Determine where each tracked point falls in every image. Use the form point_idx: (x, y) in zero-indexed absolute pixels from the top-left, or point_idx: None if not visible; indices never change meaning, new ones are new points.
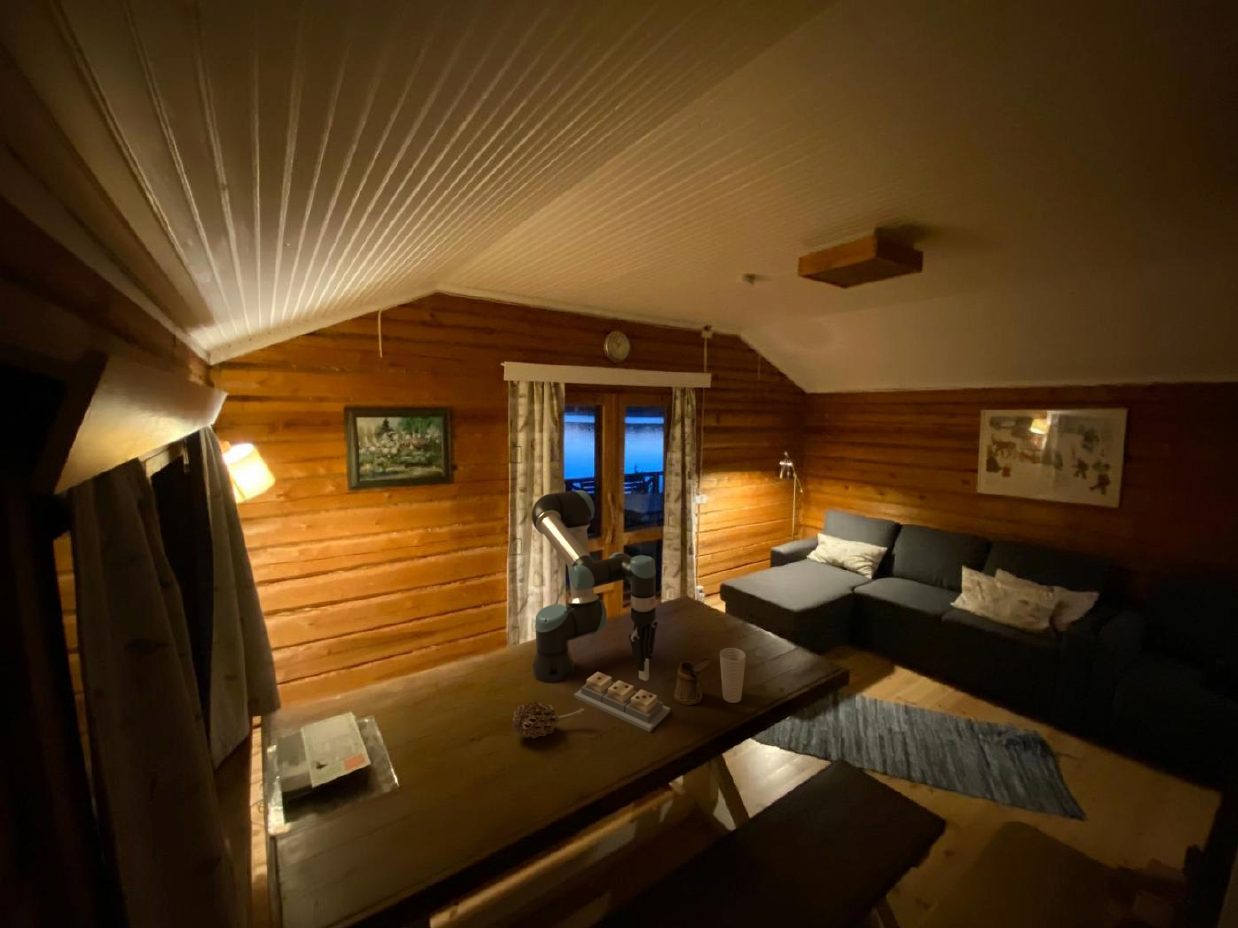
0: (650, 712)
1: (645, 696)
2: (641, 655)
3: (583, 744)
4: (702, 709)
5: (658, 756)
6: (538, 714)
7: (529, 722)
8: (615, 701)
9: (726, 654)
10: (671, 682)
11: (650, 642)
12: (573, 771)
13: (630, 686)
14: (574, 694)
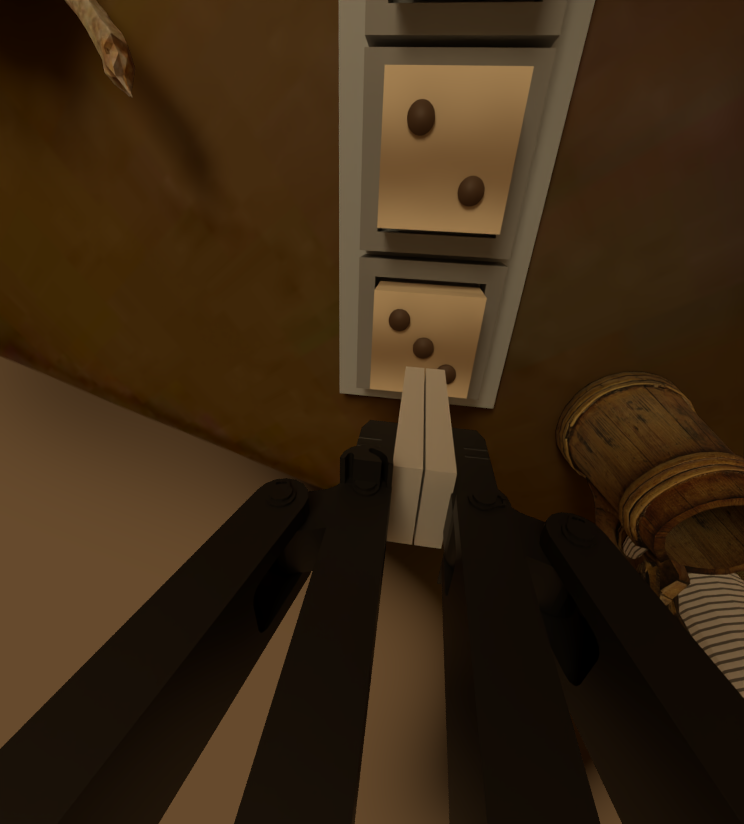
0: None
1: (427, 355)
2: (269, 632)
3: (123, 195)
4: (549, 486)
5: (270, 449)
6: None
7: None
8: (369, 176)
9: None
10: (739, 316)
11: (616, 756)
12: (28, 259)
13: (486, 217)
14: None
